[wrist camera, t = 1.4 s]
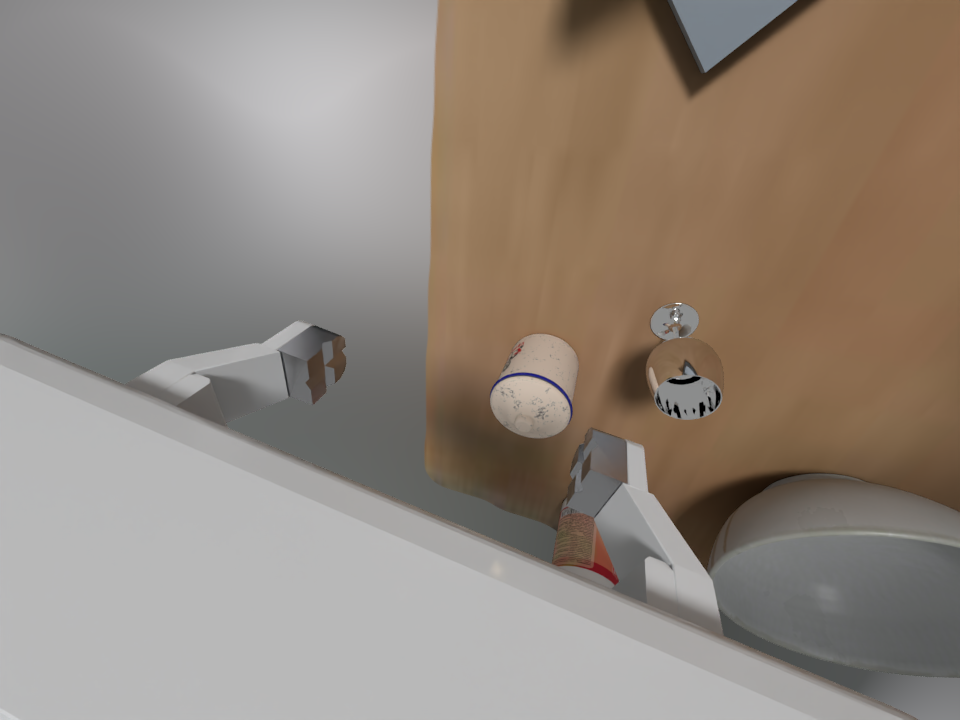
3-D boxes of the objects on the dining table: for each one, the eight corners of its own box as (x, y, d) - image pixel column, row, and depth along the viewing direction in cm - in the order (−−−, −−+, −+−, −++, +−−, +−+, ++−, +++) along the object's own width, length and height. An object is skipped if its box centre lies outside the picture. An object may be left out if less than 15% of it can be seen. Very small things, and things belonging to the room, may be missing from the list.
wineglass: (681, 285, 35) (698, 355, 26) (719, 323, 36) (748, 404, 27) (631, 320, 38) (630, 392, 29) (667, 354, 39) (677, 434, 30)
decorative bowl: (650, 485, 52) (653, 569, 43) (869, 387, 35) (953, 495, 25) (786, 579, 54) (816, 678, 45) (1055, 533, 37) (1193, 679, 28)
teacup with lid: (512, 323, 44) (482, 383, 35) (588, 339, 41) (576, 407, 33) (505, 394, 51) (478, 459, 42) (569, 411, 49) (555, 482, 40)
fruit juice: (569, 484, 58) (533, 710, 37) (629, 504, 56) (626, 754, 35) (556, 513, 64) (519, 722, 43) (610, 532, 62) (598, 760, 41)
